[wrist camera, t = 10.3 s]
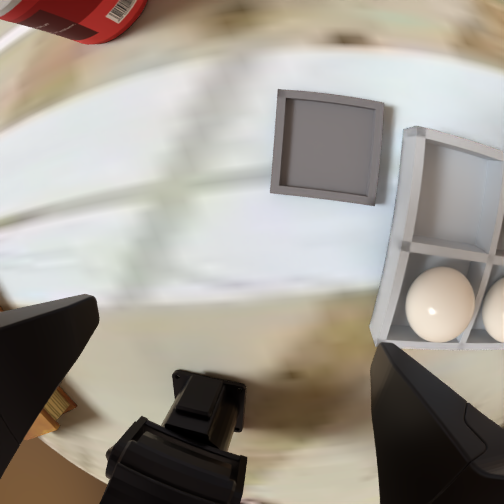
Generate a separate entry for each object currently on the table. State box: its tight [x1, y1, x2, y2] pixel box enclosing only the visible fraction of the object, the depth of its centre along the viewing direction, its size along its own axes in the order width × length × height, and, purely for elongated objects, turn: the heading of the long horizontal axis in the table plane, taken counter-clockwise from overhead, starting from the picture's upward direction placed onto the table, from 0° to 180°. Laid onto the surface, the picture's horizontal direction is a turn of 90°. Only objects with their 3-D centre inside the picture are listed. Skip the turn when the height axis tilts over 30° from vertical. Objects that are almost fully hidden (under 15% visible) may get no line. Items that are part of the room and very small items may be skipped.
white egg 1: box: [405, 266, 475, 343], centre depth 16 cm, size 5×5×5 cm
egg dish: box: [270, 89, 384, 206], centre depth 17 cm, size 6×6×1 cm
